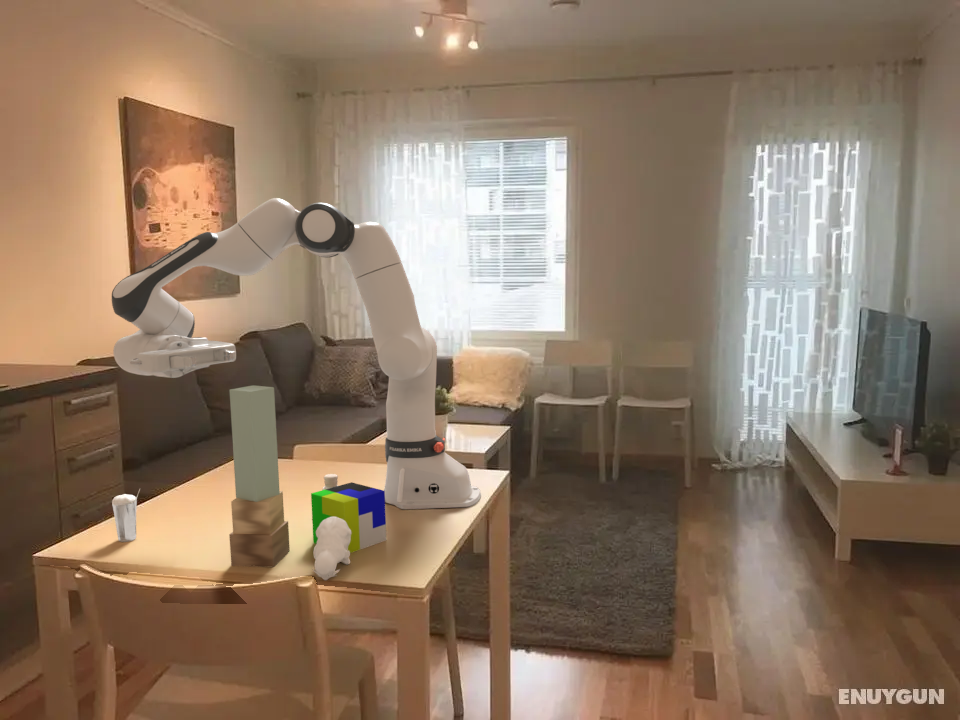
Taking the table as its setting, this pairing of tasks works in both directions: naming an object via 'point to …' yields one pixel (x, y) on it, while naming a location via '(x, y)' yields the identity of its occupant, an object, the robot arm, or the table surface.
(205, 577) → the table surface
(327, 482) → the pepper shaker
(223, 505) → the table surface
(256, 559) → the tower bottom
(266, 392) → the pillar
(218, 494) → the table surface
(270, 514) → the tower top
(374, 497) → the puzzle toy
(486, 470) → the table surface
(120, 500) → the milkshake
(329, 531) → the white animal figurine
